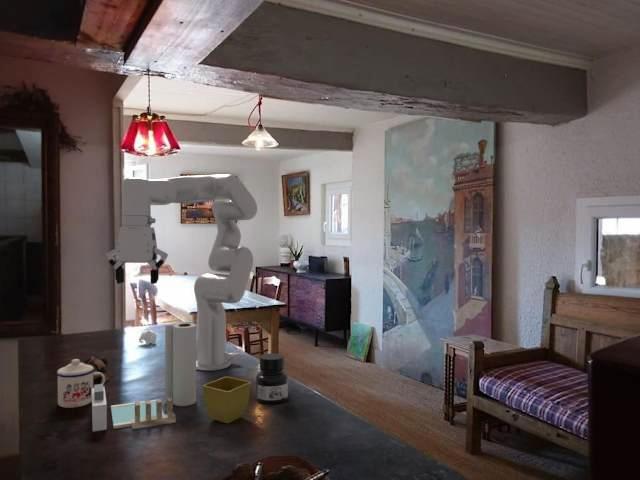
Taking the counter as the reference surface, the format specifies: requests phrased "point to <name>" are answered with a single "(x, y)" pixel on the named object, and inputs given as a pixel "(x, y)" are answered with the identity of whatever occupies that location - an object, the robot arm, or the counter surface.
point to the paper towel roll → (180, 364)
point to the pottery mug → (98, 365)
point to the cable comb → (153, 420)
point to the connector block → (99, 408)
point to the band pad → (129, 413)
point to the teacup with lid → (76, 384)
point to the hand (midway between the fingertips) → (137, 283)
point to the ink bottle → (271, 379)
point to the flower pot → (226, 398)
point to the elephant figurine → (148, 337)
